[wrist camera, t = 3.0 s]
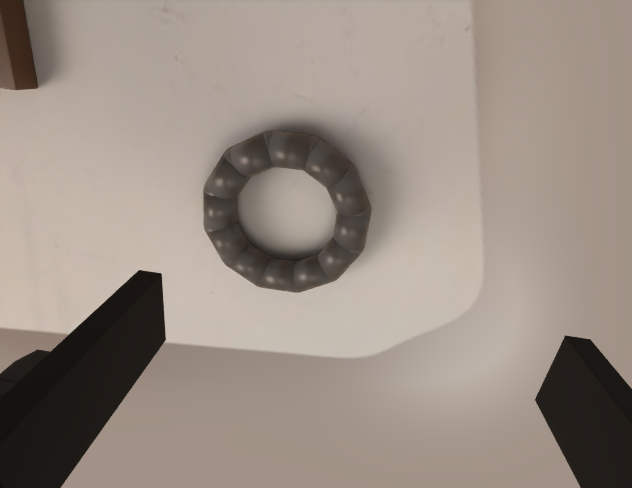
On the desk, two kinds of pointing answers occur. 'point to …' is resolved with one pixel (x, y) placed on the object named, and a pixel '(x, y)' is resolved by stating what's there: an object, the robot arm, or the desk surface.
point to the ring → (294, 155)
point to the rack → (15, 48)
